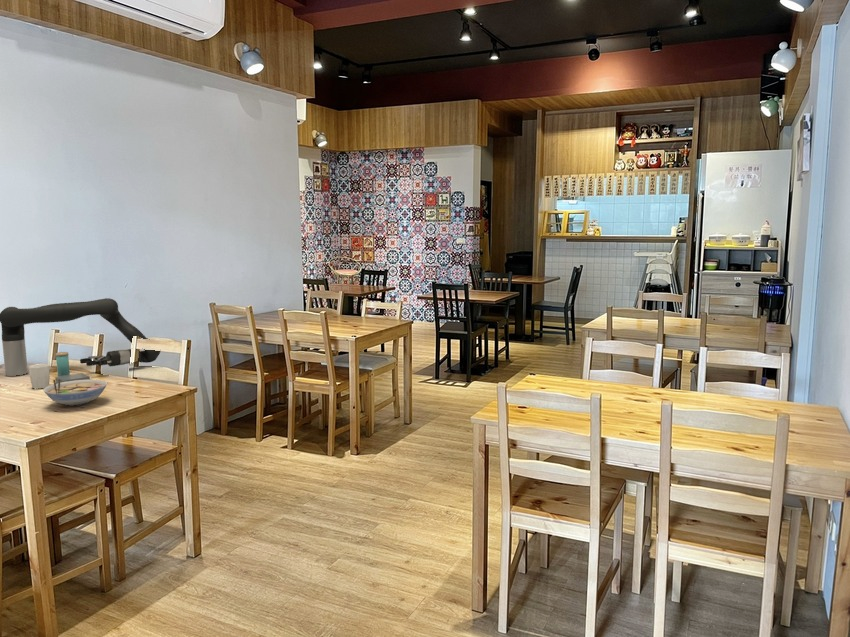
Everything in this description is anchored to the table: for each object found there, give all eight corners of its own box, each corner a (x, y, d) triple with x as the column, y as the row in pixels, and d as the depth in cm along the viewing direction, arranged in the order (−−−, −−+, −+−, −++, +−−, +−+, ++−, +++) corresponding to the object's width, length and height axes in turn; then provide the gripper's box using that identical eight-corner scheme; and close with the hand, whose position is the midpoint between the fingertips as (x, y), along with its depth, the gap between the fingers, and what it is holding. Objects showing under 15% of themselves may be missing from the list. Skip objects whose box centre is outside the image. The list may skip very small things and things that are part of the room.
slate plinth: (55, 384, 285) (55, 376, 284) (81, 380, 292) (81, 372, 292) (63, 388, 277) (63, 380, 277) (90, 383, 285) (89, 376, 285)
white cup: (55, 385, 283) (53, 364, 281) (42, 389, 275) (40, 367, 273) (38, 385, 283) (37, 363, 282) (26, 389, 276) (24, 367, 274)
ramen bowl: (110, 407, 247) (109, 387, 246) (43, 415, 236) (41, 394, 235) (107, 393, 269) (105, 374, 268) (45, 400, 258) (43, 381, 256)
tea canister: (56, 380, 293) (53, 353, 291) (68, 378, 297) (66, 351, 295) (60, 381, 289) (57, 354, 287) (72, 379, 293) (69, 352, 291)
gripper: (112, 348, 314) (77, 353, 303) (123, 352, 305) (88, 357, 293) (113, 363, 315) (78, 368, 304) (124, 367, 306) (89, 372, 294)
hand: (83, 362), depth 298 cm, fingers open, 8 cm apart
